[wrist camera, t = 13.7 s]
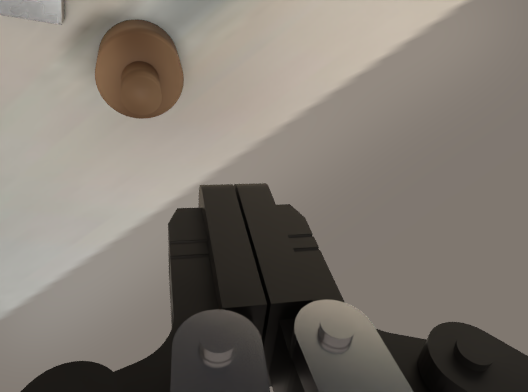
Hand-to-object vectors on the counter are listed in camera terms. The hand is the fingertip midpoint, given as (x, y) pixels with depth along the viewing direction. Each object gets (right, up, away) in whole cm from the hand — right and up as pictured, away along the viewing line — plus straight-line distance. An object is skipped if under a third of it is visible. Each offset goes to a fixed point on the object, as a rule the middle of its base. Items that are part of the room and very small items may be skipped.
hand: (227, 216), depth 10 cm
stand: (-8, +10, +22) cm, 26 cm away
